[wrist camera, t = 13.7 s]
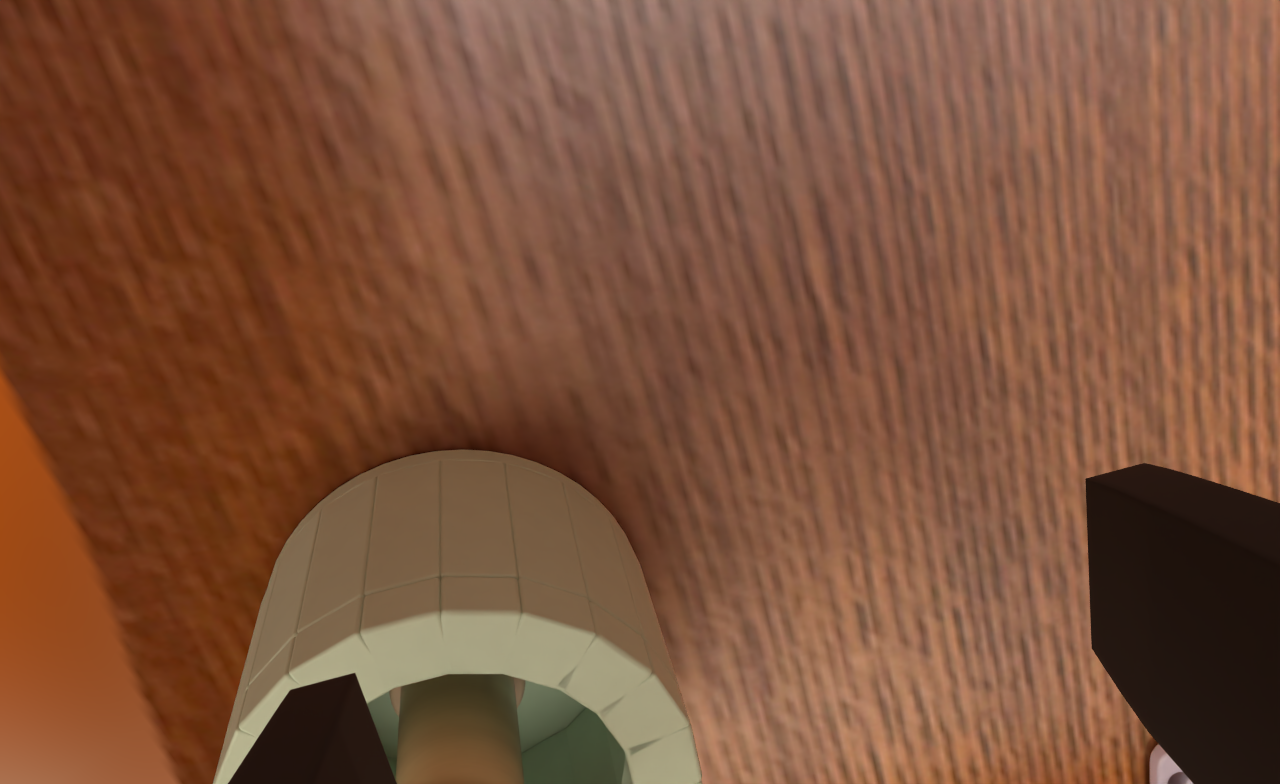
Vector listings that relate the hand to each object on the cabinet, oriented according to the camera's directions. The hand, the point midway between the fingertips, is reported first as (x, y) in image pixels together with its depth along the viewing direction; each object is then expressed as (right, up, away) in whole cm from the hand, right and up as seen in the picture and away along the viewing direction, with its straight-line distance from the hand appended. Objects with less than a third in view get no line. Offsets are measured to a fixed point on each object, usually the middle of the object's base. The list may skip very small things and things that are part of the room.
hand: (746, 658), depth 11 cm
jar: (-5, -2, +11) cm, 12 cm away
